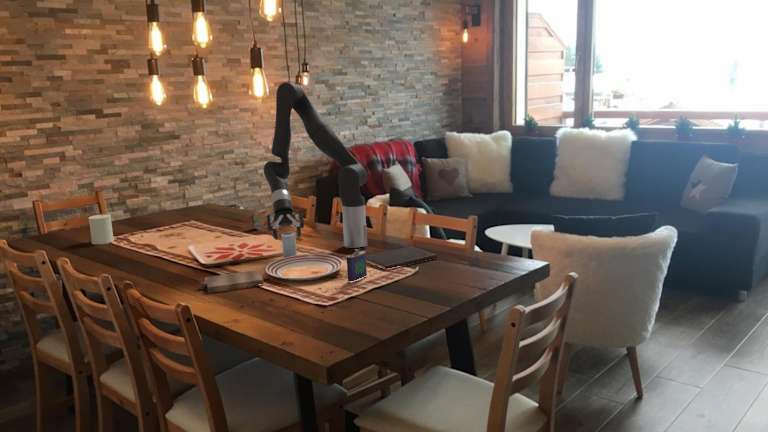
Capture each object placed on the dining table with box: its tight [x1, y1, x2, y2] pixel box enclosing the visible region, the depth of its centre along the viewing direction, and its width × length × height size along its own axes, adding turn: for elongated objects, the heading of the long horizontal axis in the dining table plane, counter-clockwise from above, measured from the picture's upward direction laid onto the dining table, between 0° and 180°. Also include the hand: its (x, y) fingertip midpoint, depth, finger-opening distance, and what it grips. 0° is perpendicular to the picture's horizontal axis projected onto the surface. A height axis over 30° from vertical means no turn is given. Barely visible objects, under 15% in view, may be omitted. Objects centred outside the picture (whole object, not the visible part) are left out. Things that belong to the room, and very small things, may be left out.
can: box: [87, 213, 115, 245], centre depth 286 cm, size 9×9×12 cm
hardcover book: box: [366, 245, 438, 269], centre depth 242 cm, size 16×23×2 cm
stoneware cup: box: [280, 231, 298, 258], centre depth 249 cm, size 6×6×10 cm
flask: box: [346, 249, 368, 282], centre depth 220 cm, size 9×3×11 cm, turn 144°
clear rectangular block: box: [249, 208, 276, 231], centre depth 303 cm, size 15×3×8 cm, turn 143°
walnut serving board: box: [199, 270, 264, 294], centre depth 220 cm, size 20×12×2 cm, turn 111°
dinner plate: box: [265, 253, 344, 281], centre depth 231 cm, size 27×27×3 cm
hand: (287, 237), depth 250 cm, fingers open, 8 cm apart
